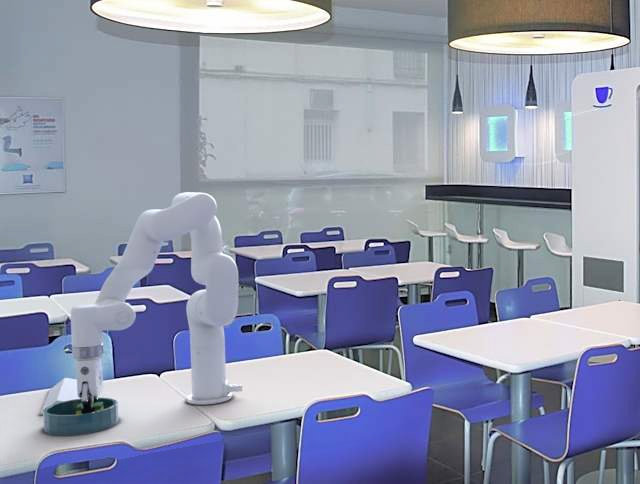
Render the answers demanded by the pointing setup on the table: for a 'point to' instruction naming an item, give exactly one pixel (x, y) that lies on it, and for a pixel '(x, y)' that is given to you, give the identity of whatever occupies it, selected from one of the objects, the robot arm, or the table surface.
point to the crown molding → (62, 392)
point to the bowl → (79, 418)
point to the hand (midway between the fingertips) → (90, 420)
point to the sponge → (97, 406)
